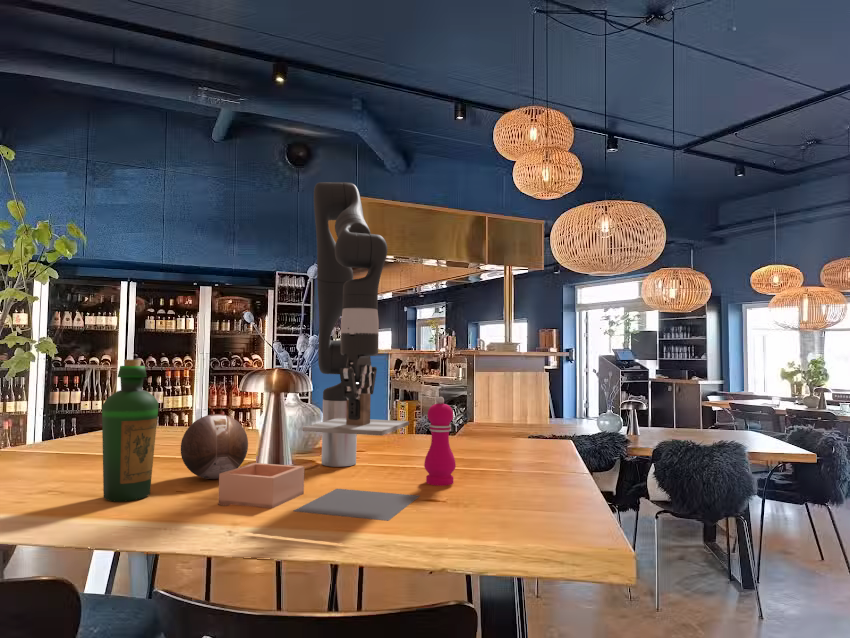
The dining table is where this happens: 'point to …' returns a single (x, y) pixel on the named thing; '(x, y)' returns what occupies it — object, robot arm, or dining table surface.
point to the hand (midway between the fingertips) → (358, 417)
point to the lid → (358, 422)
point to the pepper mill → (440, 445)
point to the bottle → (129, 436)
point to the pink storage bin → (261, 485)
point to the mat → (359, 504)
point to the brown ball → (214, 446)
